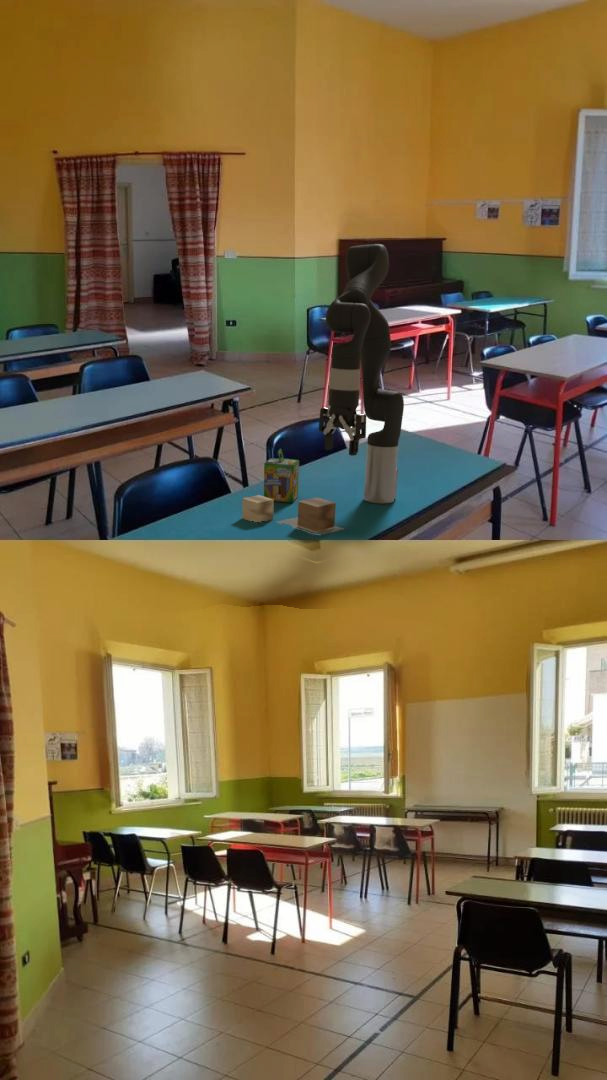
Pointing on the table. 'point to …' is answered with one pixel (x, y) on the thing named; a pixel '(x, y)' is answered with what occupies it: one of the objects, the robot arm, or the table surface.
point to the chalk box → (281, 479)
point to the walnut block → (316, 514)
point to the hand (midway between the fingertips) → (340, 452)
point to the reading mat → (294, 522)
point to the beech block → (258, 508)
